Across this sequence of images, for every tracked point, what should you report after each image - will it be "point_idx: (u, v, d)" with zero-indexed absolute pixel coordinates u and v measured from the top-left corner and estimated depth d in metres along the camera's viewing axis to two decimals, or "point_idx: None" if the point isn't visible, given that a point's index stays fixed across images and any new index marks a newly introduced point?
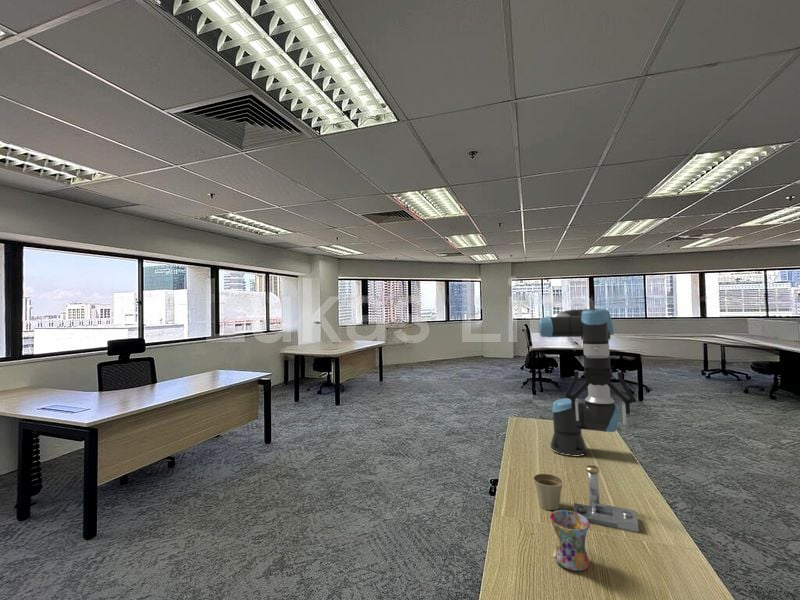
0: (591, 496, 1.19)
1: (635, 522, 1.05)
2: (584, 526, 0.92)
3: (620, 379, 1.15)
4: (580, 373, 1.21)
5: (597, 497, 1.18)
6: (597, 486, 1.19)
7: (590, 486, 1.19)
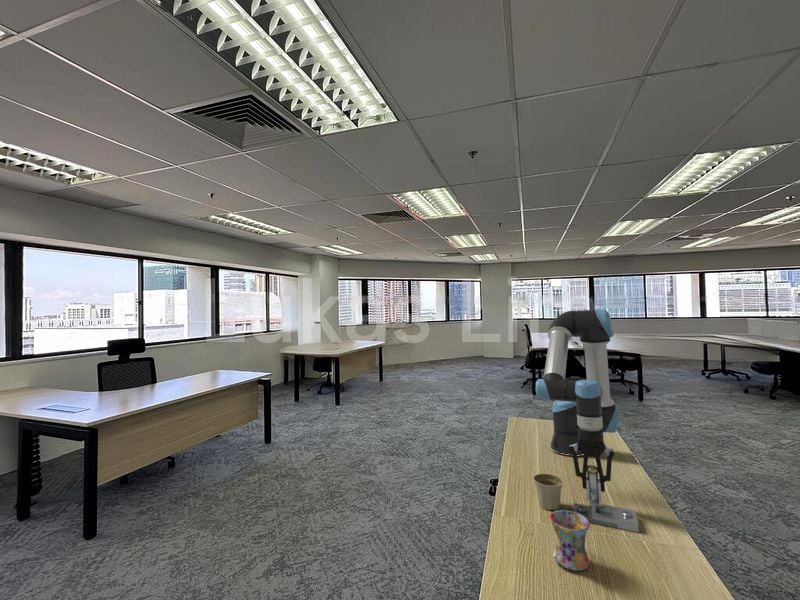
0: (591, 496, 1.19)
1: (635, 522, 1.05)
2: (584, 526, 0.92)
3: (609, 457, 1.17)
4: (575, 446, 1.22)
5: (597, 497, 1.18)
6: (597, 486, 1.19)
7: (590, 486, 1.19)
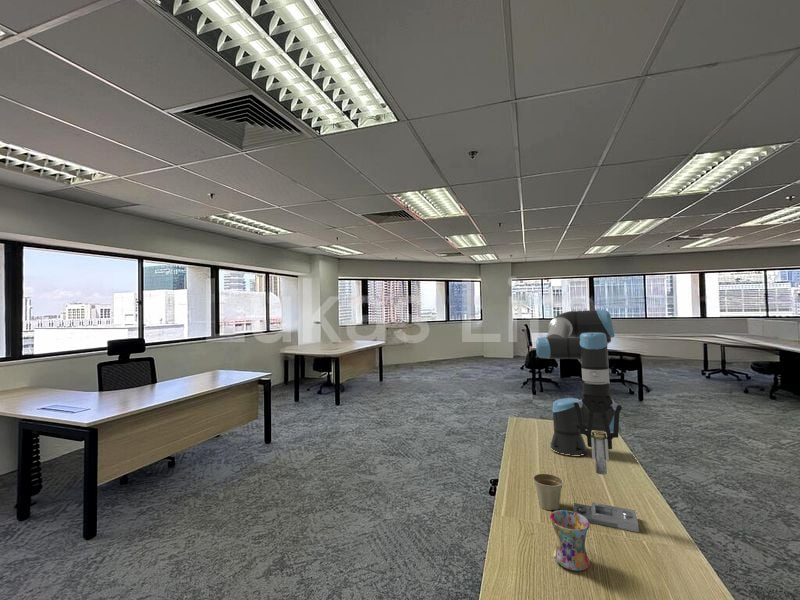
0: (597, 463, 1.11)
1: (635, 522, 1.05)
2: (584, 526, 0.92)
3: (616, 412, 1.10)
4: (579, 402, 1.15)
5: (604, 464, 1.11)
6: (604, 452, 1.11)
7: (596, 452, 1.12)
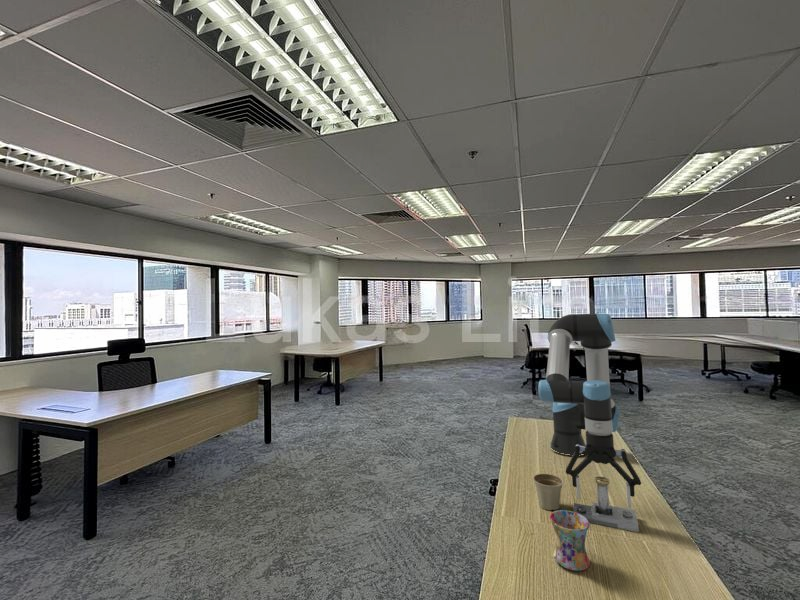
0: (600, 510, 1.11)
1: (635, 522, 1.05)
2: (584, 526, 0.92)
3: (624, 459, 1.08)
4: (581, 448, 1.14)
5: (608, 511, 1.10)
6: (607, 499, 1.10)
7: (599, 499, 1.11)
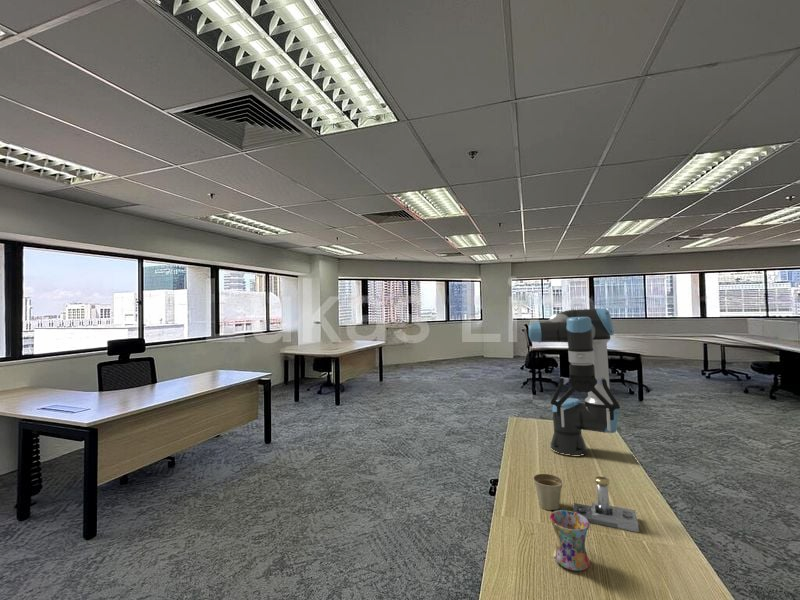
0: (600, 510, 1.11)
1: (635, 522, 1.05)
2: (584, 526, 0.92)
3: (604, 386, 1.16)
4: (565, 380, 1.22)
5: (608, 511, 1.10)
6: (607, 499, 1.10)
7: (599, 499, 1.11)
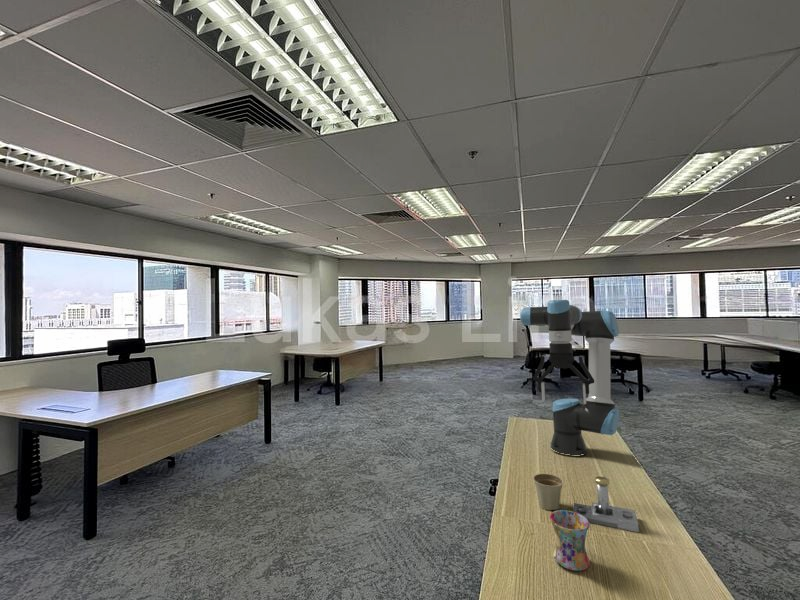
0: (600, 510, 1.11)
1: (635, 522, 1.05)
2: (584, 526, 0.92)
3: (580, 362, 1.27)
4: (546, 358, 1.33)
5: (607, 511, 1.10)
6: (607, 499, 1.10)
7: (599, 499, 1.11)
